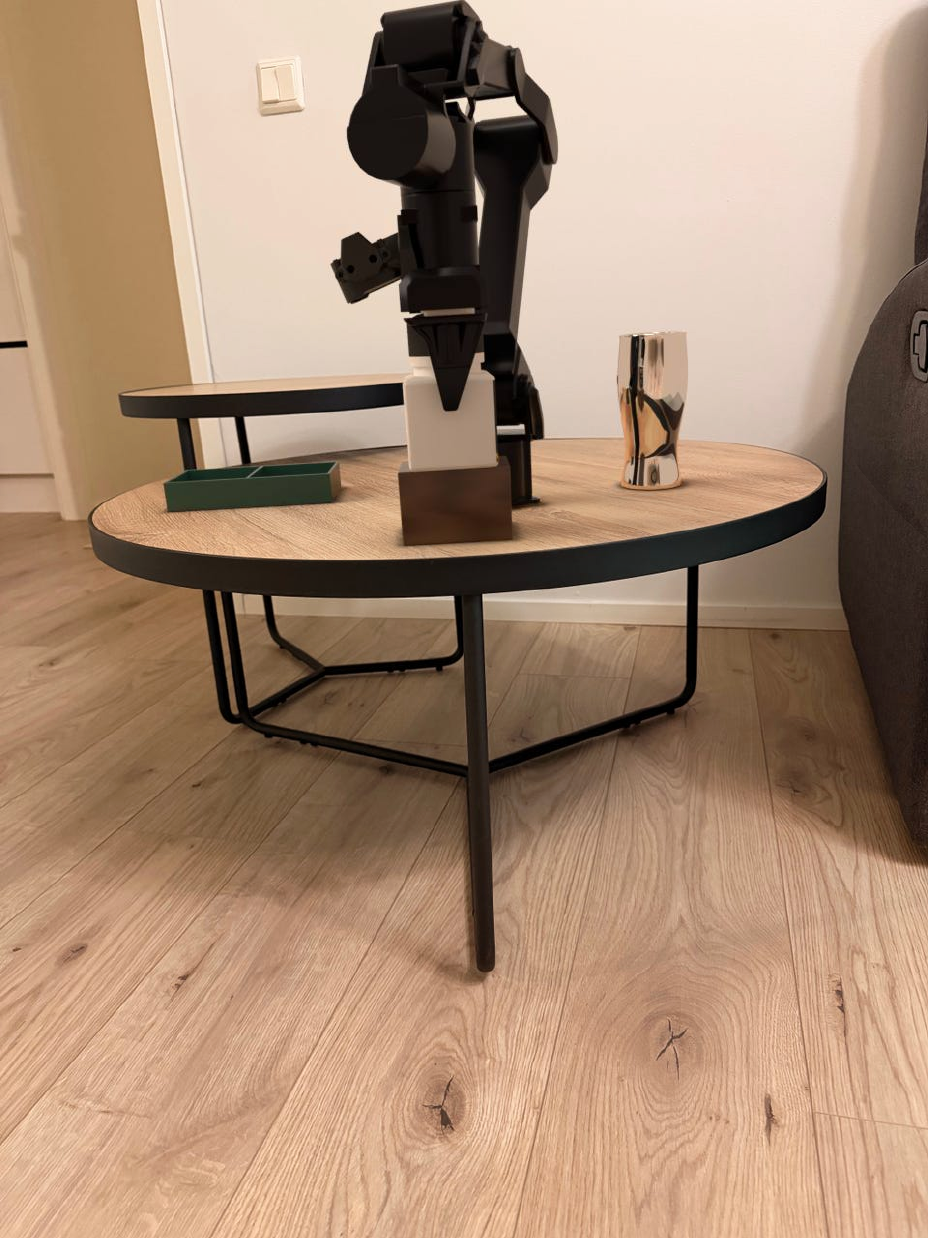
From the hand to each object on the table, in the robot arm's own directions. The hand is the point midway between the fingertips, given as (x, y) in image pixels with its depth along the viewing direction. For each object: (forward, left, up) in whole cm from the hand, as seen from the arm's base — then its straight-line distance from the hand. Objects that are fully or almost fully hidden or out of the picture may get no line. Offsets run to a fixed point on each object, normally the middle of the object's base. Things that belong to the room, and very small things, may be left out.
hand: (450, 405), depth 75 cm
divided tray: (+12, -29, -11) cm, 33 cm away
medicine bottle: (0, 0, -5) cm, 5 cm away
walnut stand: (0, 0, -11) cm, 11 cm away
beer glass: (-25, -9, -11) cm, 29 cm away
